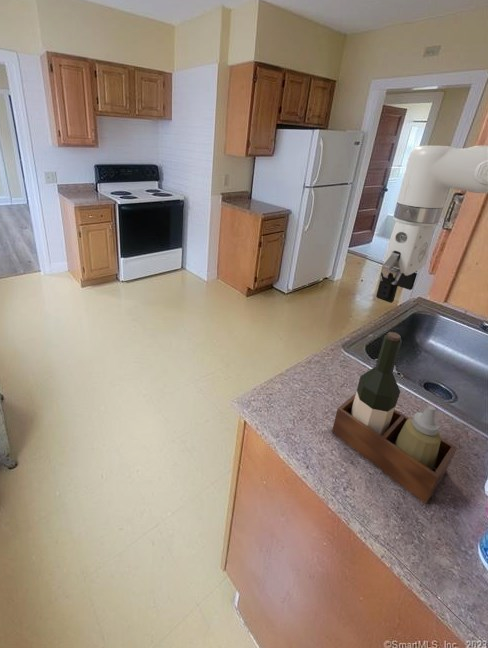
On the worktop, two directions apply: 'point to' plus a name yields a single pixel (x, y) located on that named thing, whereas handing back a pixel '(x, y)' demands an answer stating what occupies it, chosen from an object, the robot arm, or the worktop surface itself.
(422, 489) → the bottle rack
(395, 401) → the wine bottle
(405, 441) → the squeeze bottle
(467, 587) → the worktop surface
